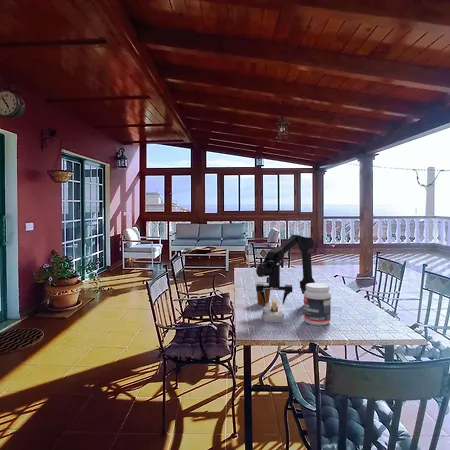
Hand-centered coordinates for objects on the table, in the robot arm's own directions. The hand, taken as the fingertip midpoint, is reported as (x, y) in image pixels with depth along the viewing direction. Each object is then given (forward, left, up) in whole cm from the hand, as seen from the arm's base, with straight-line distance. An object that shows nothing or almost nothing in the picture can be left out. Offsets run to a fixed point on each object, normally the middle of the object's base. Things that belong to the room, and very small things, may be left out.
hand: (274, 304), depth 187 cm
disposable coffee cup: (+7, -21, -6) cm, 23 cm away
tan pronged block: (0, 0, -5) cm, 5 cm away
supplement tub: (-21, +9, -6) cm, 24 cm away
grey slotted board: (0, 0, -6) cm, 6 cm away
